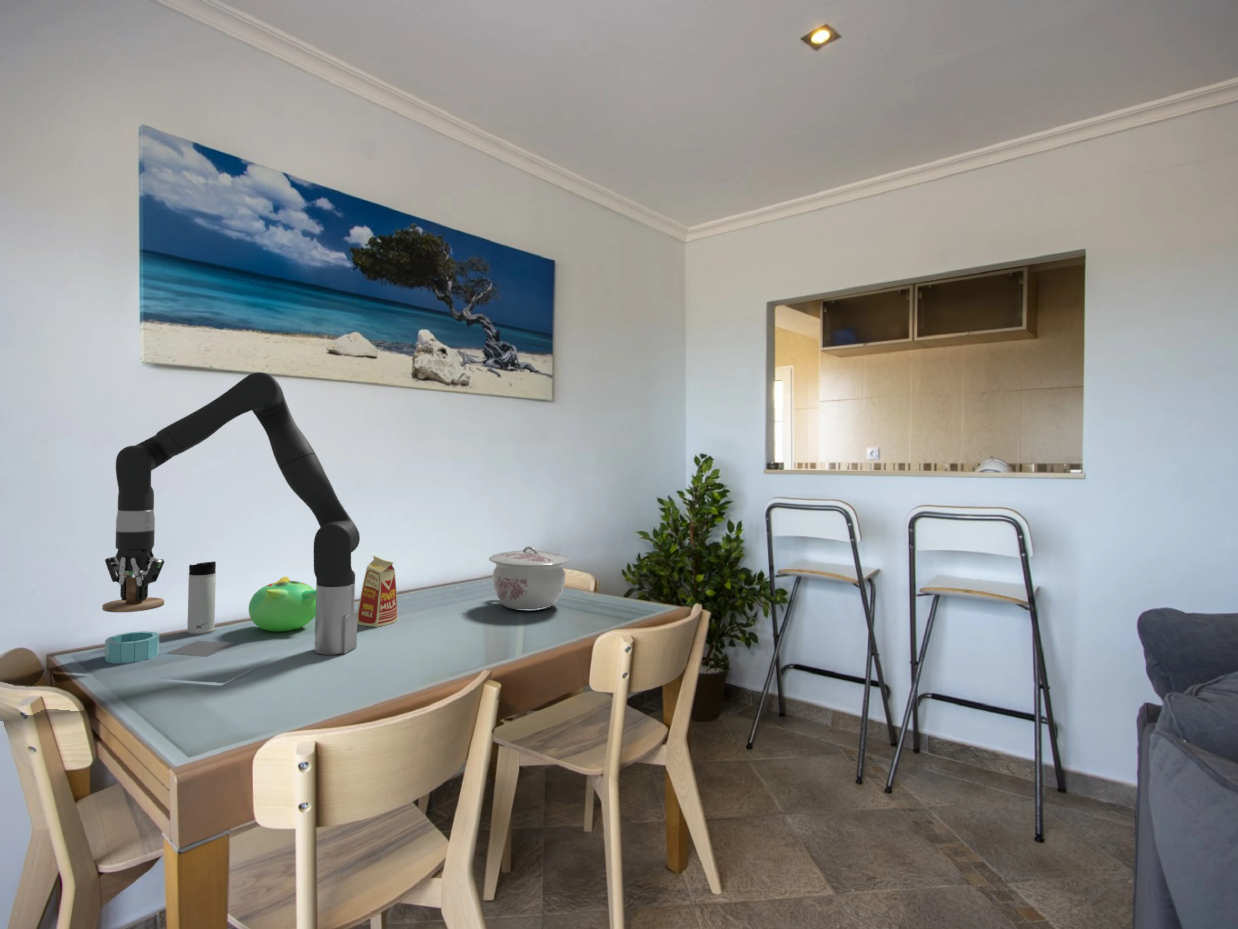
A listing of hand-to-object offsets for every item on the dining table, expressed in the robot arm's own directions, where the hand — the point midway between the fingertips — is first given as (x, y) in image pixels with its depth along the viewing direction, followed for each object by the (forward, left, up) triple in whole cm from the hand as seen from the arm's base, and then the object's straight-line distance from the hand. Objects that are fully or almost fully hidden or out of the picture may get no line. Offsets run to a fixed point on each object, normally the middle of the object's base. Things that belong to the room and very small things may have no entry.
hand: (133, 600), depth 160 cm
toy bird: (-20, -30, -14) cm, 39 cm away
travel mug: (-1, -22, -14) cm, 26 cm away
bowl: (0, 0, -14) cm, 14 cm away
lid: (0, 0, -2) cm, 2 cm away
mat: (-11, -9, -14) cm, 20 cm away
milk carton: (-41, -44, -14) cm, 62 cm away
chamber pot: (-80, -74, -14) cm, 110 cm away
